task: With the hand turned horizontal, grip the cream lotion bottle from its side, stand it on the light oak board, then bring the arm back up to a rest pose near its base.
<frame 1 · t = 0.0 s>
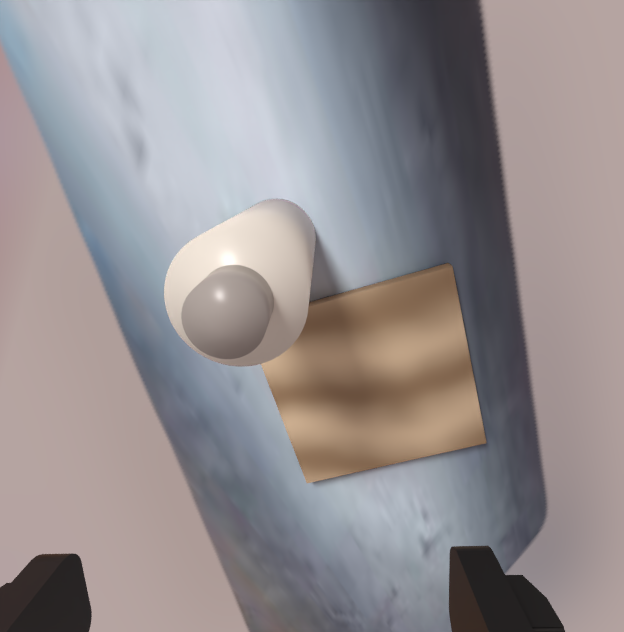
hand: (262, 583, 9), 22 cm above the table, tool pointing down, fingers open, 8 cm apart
lotion bottle: (277, 238, 28), on the table
oak board: (370, 380, 32), on the table
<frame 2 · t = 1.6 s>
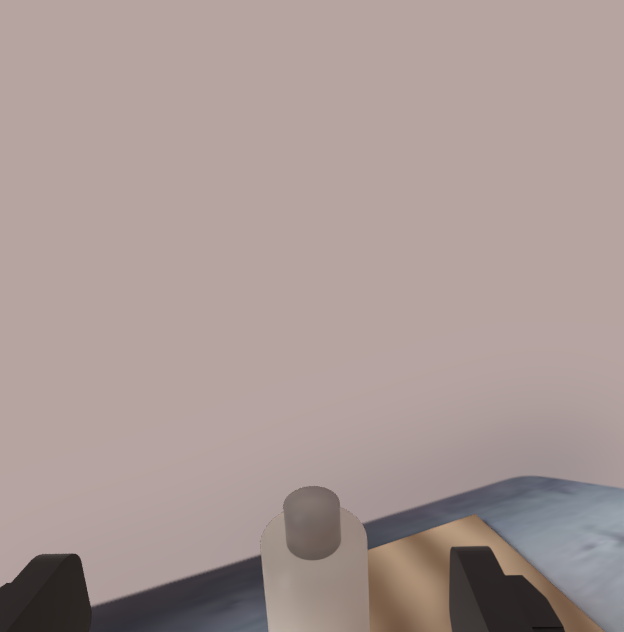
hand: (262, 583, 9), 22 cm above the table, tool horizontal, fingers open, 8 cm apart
oak board: (463, 615, 31), on the table
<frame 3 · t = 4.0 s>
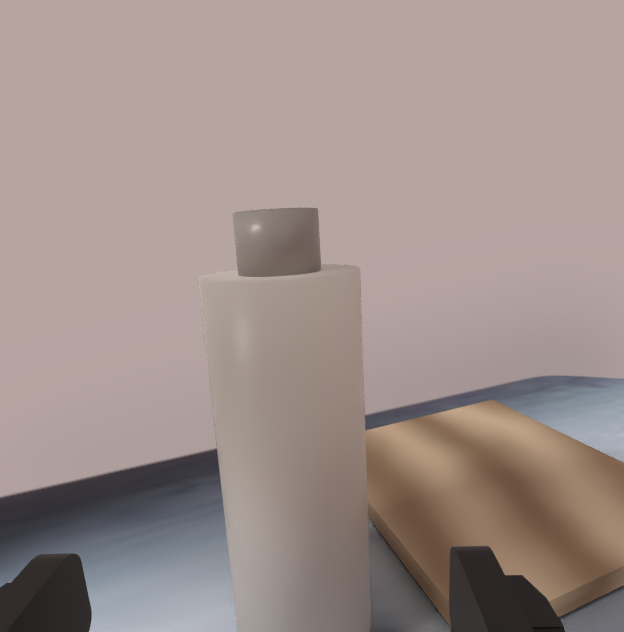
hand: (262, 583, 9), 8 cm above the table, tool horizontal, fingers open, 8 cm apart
lotion bottle: (304, 615, 17), on the table
oak board: (486, 486, 24), on the table
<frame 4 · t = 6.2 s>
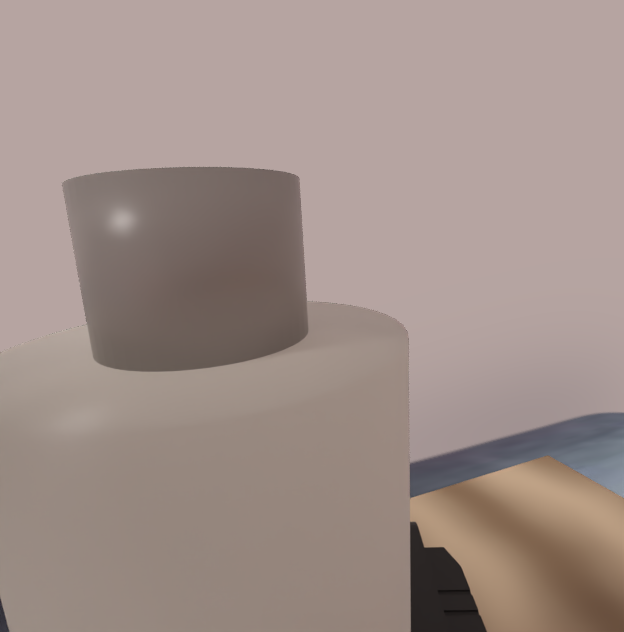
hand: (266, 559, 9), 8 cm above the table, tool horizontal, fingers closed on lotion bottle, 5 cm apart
oak board: (569, 619, 16), on the table
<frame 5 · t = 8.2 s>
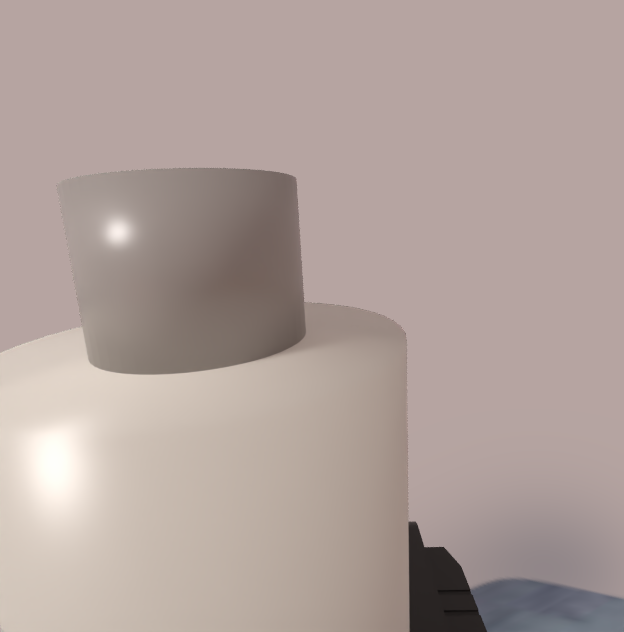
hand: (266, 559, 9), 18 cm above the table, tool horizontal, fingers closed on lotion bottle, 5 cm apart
when the fingers open (10 cm above the table, at t = 10.6 s): lotion bottle drops 1 cm, resting on oak board.
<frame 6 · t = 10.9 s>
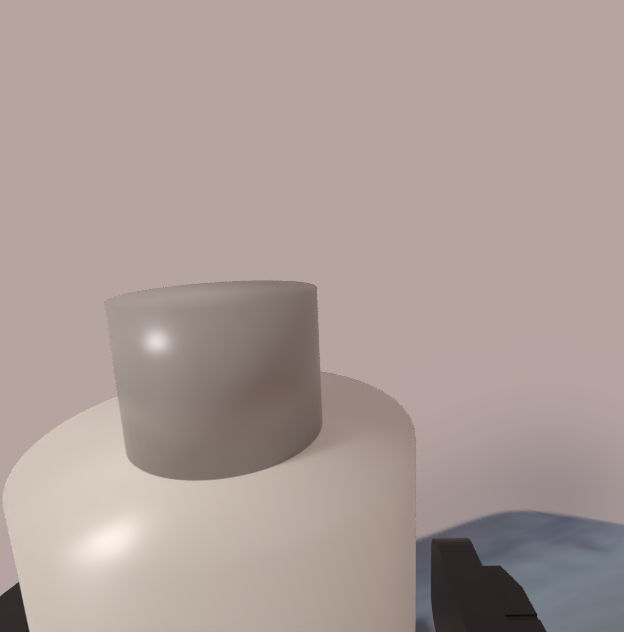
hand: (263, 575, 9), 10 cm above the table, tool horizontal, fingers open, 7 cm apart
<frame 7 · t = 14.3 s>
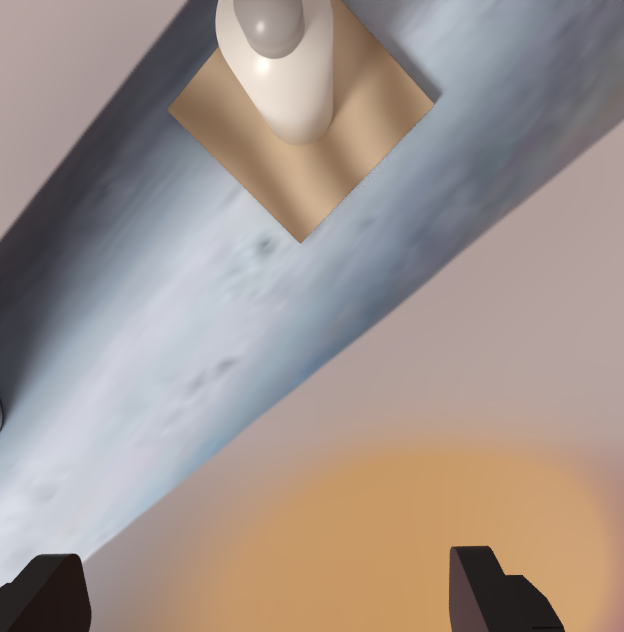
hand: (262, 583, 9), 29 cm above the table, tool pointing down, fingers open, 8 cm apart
lotion bottle: (298, 109, 32), point 1 cm above the table, touching oak board
oak board: (299, 110, 33), on the table
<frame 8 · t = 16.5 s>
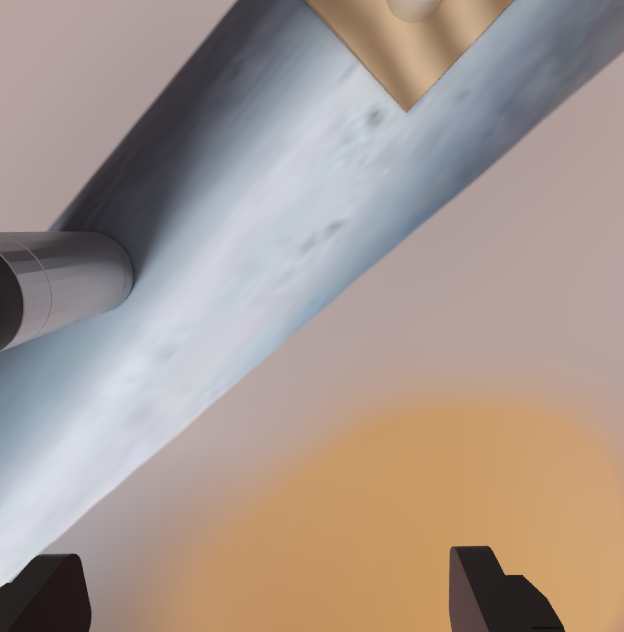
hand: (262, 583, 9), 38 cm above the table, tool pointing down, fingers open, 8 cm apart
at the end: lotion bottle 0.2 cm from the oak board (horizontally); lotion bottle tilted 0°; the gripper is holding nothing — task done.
